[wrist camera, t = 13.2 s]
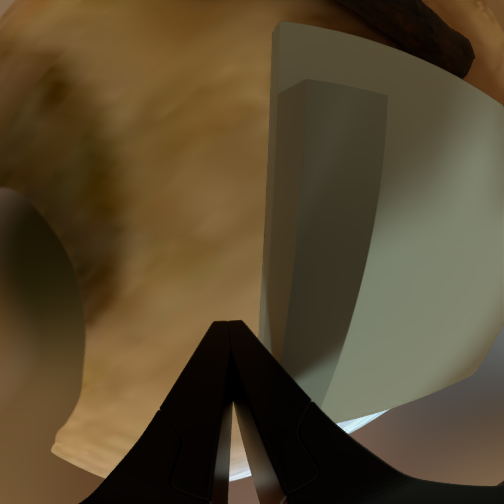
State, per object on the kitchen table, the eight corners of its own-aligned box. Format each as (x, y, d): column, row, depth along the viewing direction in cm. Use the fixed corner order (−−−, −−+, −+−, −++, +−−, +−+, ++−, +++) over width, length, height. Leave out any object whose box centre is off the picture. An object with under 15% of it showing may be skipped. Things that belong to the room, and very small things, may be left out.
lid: (467, 364, 14) (488, 393, 11) (252, 420, 12) (260, 472, 10) (541, 143, 7) (580, 158, 5) (271, 33, 6) (306, -19, 3)
